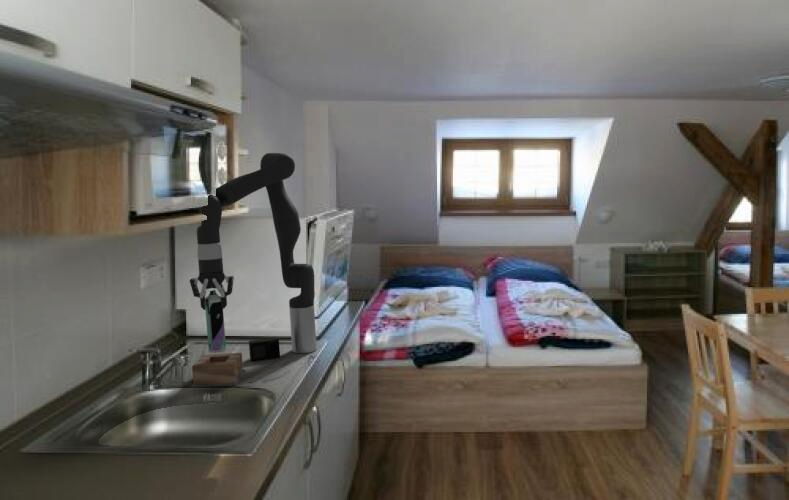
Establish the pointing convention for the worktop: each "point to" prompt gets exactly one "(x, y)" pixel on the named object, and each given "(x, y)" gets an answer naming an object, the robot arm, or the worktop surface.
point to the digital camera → (264, 349)
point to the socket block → (218, 370)
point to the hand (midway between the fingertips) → (214, 308)
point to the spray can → (215, 323)
